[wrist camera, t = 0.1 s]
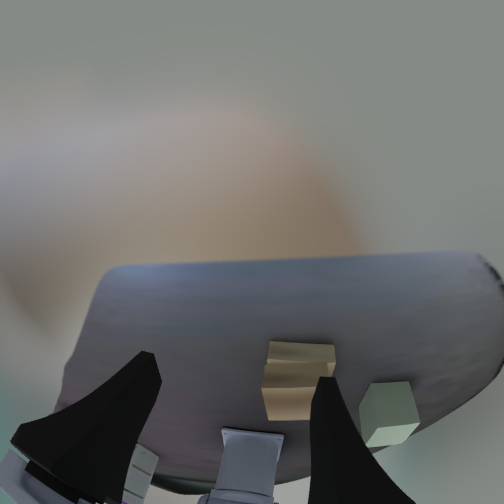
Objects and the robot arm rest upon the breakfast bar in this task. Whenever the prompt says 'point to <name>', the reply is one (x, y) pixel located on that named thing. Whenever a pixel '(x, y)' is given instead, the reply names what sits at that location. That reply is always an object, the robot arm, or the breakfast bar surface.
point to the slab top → (291, 389)
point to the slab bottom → (301, 354)
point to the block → (388, 414)
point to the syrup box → (139, 475)
